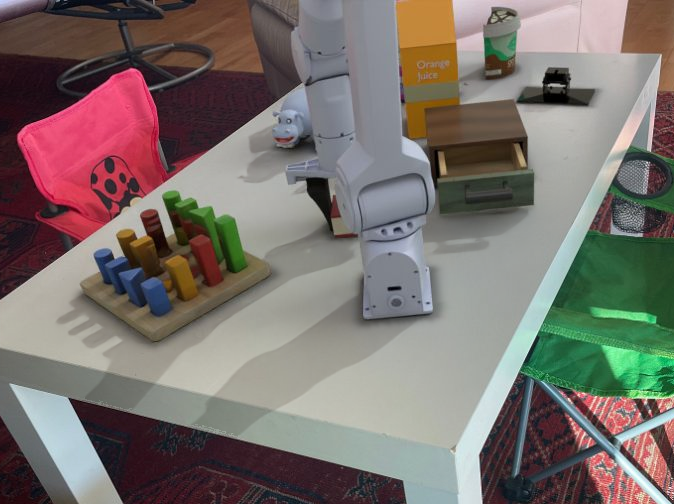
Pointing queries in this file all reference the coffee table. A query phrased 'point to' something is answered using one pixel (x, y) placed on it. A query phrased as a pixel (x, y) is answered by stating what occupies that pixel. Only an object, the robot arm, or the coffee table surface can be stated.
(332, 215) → the book
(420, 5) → the orange juice
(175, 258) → the peg board
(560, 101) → the build plate
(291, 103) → the hippopotamus toy
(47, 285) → the coffee table surface
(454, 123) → the cabinet
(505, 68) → the food container
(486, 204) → the drawer
